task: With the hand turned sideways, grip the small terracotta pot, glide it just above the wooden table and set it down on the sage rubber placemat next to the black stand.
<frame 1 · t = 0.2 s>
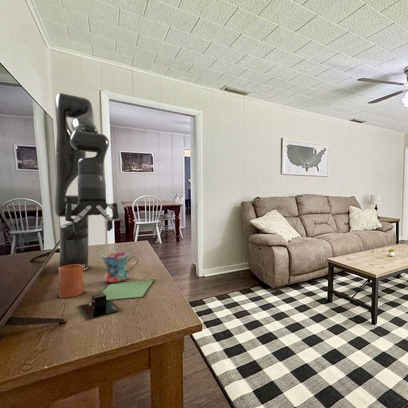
hand: (93, 232, 101), 22 cm above the table, tool pointing down, fingers open, 8 cm apart
mug: (120, 280, 115), on the table, touching placemat
placemat: (126, 290, 106), on the table
black stand: (98, 309, 90), on the table
pot: (71, 294, 99), on the table
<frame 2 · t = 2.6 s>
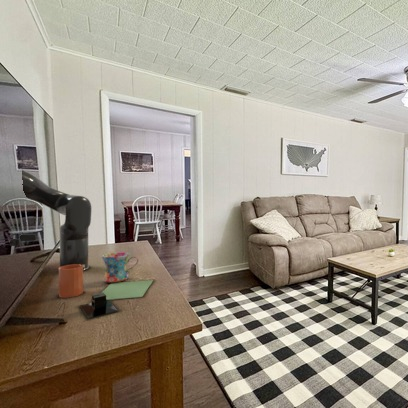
hand: (28, 239, 94), 20 cm above the table, tool horizontal, fingers open, 8 cm apart
nothing on the table moved.
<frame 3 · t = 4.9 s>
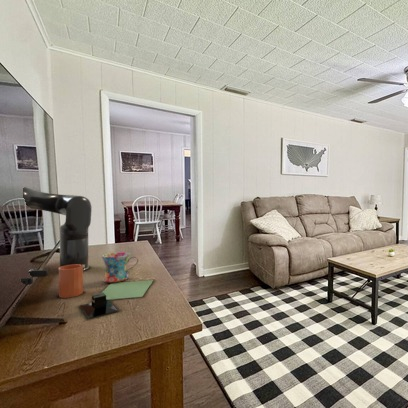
hand: (40, 276, 96), 7 cm above the table, tool horizontal, fingers open, 8 cm apart
nothing on the table moved.
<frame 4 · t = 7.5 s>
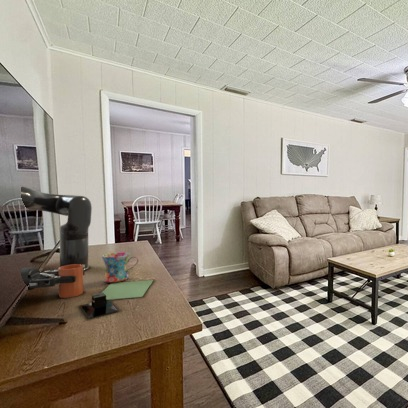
hand: (79, 275, 100), 7 cm above the table, tool horizontal, fingers closed on pot, 6 cm apart
pot: (71, 294, 99), on the table, touching gripper
everything else where it was.
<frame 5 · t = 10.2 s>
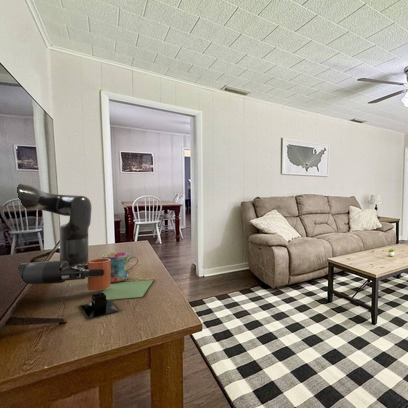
hand: (107, 269, 103), 8 cm above the table, tool horizontal, fingers closed on pot, 6 cm apart
pot: (99, 287, 102), point 2 cm above the table, touching gripper
everything else where it was.
when the fingers open (7 cm above the table, at t = 12.9 s): pot stays where it is, resting on placemat.
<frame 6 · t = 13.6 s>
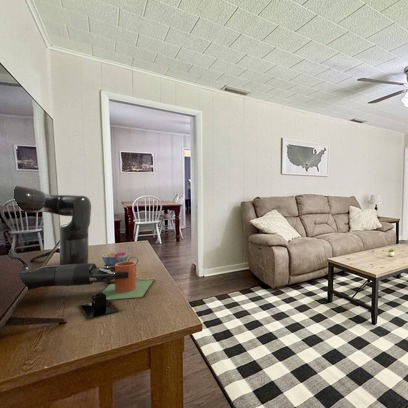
hand: (131, 271, 106), 7 cm above the table, tool horizontal, fingers open, 8 cm apart
pot: (125, 289, 105), resting on placemat
everything else where it was.
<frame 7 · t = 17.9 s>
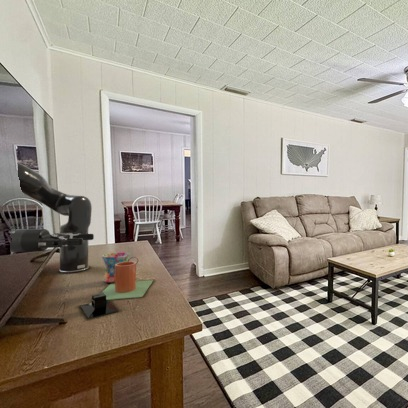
hand: (88, 239, 100), 20 cm above the table, tool horizontal, fingers open, 8 cm apart
nothing on the table moved.
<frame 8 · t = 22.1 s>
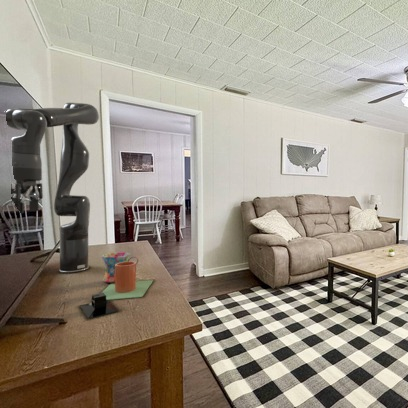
hand: (26, 212, 101), 28 cm above the table, tool pointing down, fingers open, 8 cm apart
nothing on the table moved.
at the end: pot inside the target area (0.6 cm from its centre), resting on placemat; pot 15.8 cm from the black stand (horizontally); pot tilted 0° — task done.
